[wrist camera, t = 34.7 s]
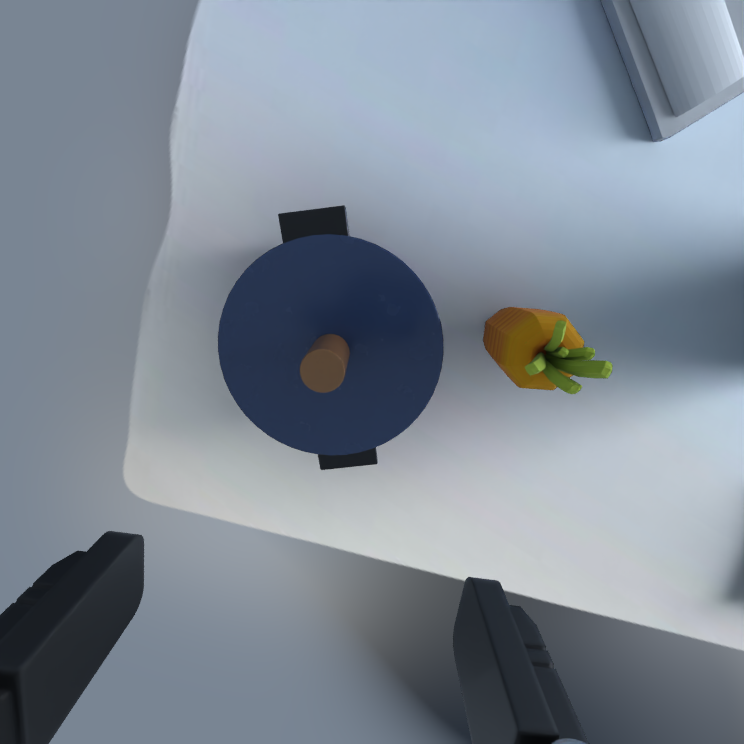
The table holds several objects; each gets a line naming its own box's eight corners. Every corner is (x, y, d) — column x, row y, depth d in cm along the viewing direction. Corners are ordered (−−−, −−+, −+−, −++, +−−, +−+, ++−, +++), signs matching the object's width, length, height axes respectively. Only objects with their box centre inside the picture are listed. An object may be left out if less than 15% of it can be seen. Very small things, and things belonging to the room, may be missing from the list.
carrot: (453, 338, 35) (508, 394, 21) (483, 284, 34) (564, 304, 20) (504, 365, 36) (592, 437, 21) (536, 312, 35) (652, 351, 20)
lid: (351, 183, 27) (346, 164, 21) (485, 372, 30) (509, 397, 25) (173, 328, 29) (129, 344, 24) (314, 489, 32) (303, 535, 27)
